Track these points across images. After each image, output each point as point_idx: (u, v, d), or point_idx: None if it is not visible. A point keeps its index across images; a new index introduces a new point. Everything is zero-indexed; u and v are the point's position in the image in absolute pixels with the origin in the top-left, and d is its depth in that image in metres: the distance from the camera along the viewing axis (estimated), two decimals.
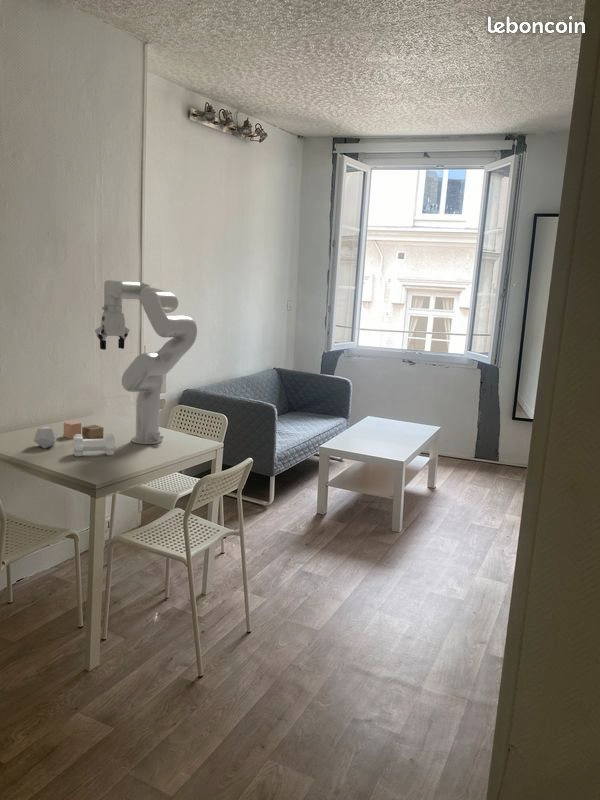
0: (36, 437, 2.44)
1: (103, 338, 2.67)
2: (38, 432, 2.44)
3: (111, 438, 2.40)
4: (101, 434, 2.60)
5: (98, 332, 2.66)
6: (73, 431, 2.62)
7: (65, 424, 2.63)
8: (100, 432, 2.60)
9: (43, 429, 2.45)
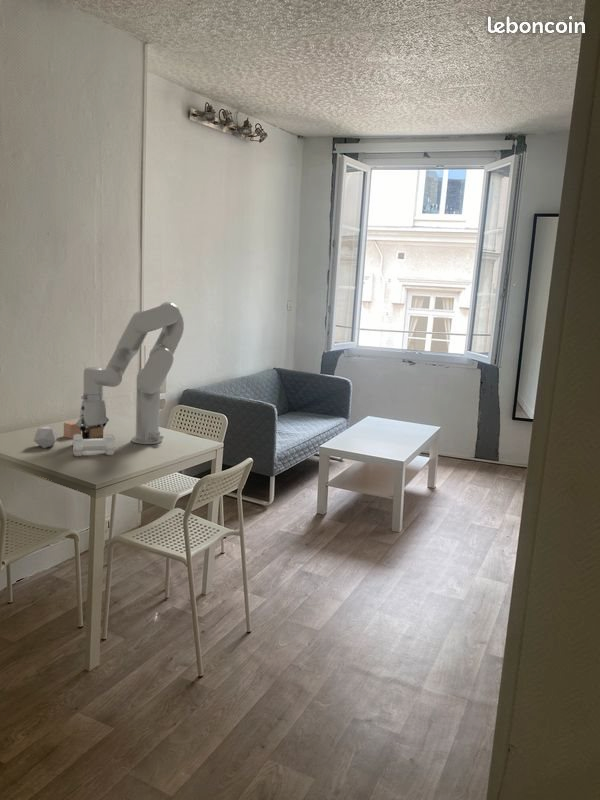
0: (36, 437, 2.44)
1: (85, 430, 2.56)
2: (38, 432, 2.44)
3: (111, 438, 2.41)
4: (101, 434, 2.60)
5: (80, 425, 2.54)
6: (73, 431, 2.62)
7: (65, 424, 2.63)
8: (100, 432, 2.60)
9: (43, 429, 2.45)
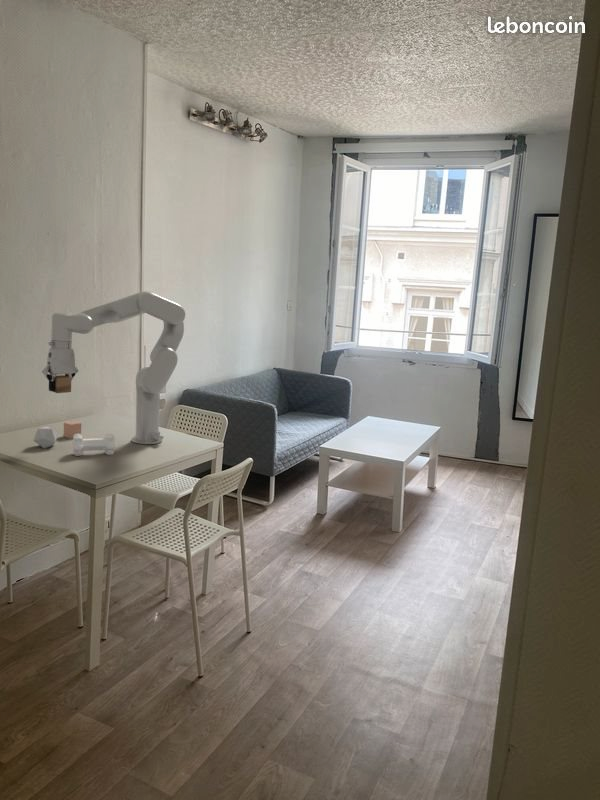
0: (36, 437, 2.44)
1: (52, 379, 2.43)
2: (38, 432, 2.44)
3: (111, 438, 2.41)
4: (69, 384, 2.47)
5: (46, 373, 2.41)
6: (73, 431, 2.62)
7: (65, 424, 2.63)
8: (67, 382, 2.47)
9: (43, 429, 2.45)
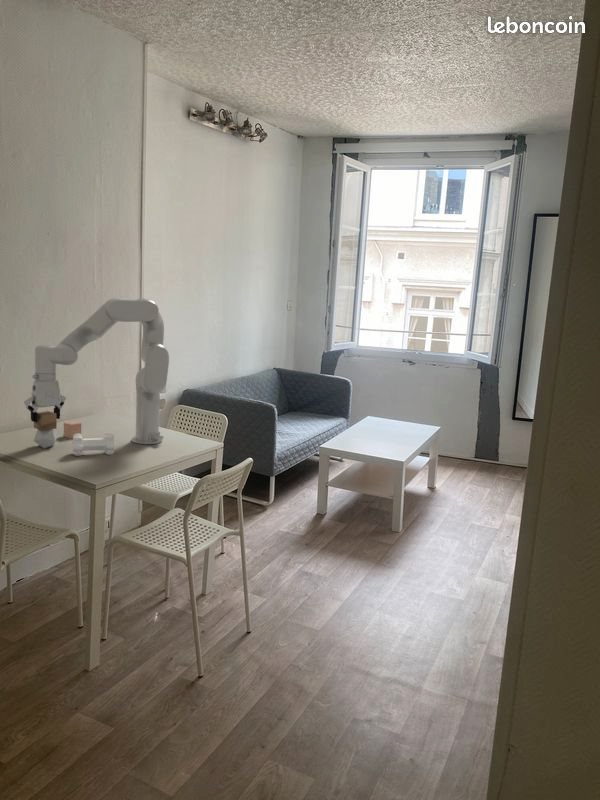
0: (36, 437, 2.44)
1: (34, 410, 2.40)
2: (38, 432, 2.44)
3: (110, 437, 2.41)
4: (54, 421, 2.45)
5: (28, 404, 2.38)
6: (73, 431, 2.62)
7: (65, 424, 2.63)
8: (53, 419, 2.45)
9: None
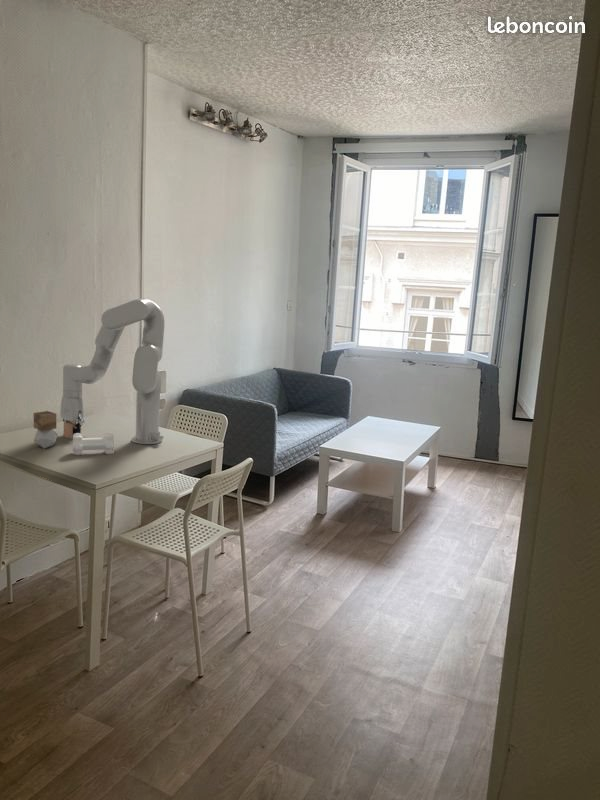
0: (36, 437, 2.44)
1: None
2: (38, 432, 2.44)
3: (110, 437, 2.42)
4: (54, 421, 2.45)
5: None
6: None
7: (65, 424, 2.63)
8: (52, 419, 2.45)
9: None
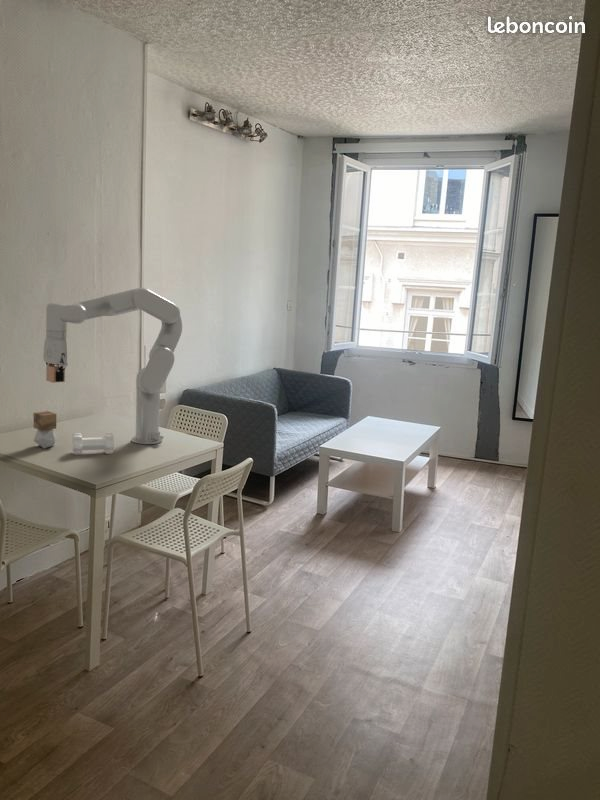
0: (36, 437, 2.44)
1: None
2: (38, 432, 2.44)
3: (110, 437, 2.42)
4: (54, 421, 2.45)
5: None
6: None
7: (48, 367, 2.48)
8: (52, 419, 2.45)
9: None
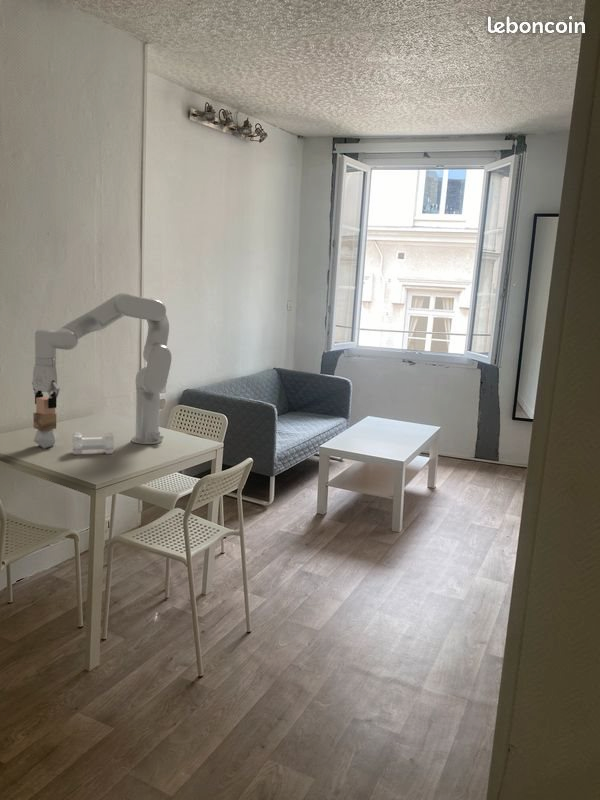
0: (36, 437, 2.44)
1: (34, 392, 2.46)
2: (38, 432, 2.44)
3: (110, 437, 2.42)
4: (54, 421, 2.45)
5: None
6: (46, 407, 2.42)
7: (38, 399, 2.43)
8: (52, 419, 2.45)
9: None
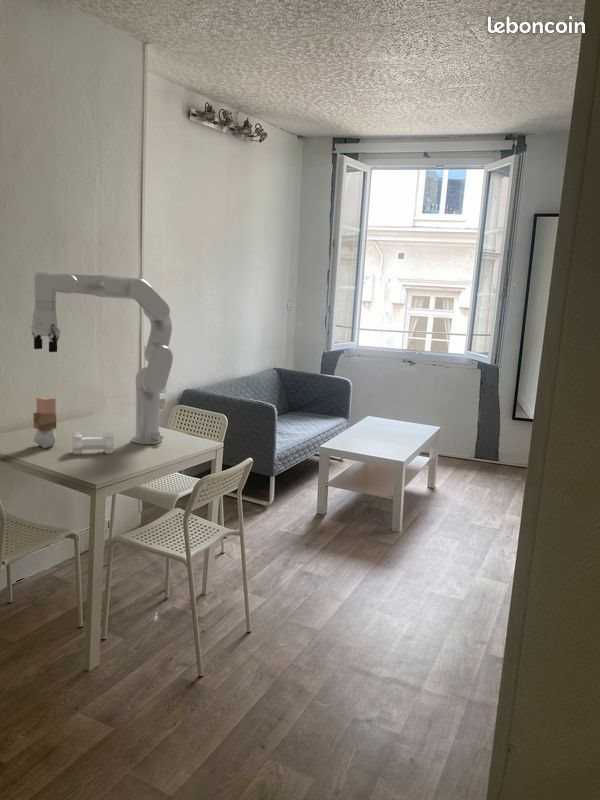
0: (36, 437, 2.44)
1: (33, 336, 2.42)
2: (38, 432, 2.44)
3: (110, 437, 2.42)
4: (54, 421, 2.45)
5: None
6: (46, 407, 2.42)
7: (38, 399, 2.43)
8: (52, 419, 2.45)
9: None
